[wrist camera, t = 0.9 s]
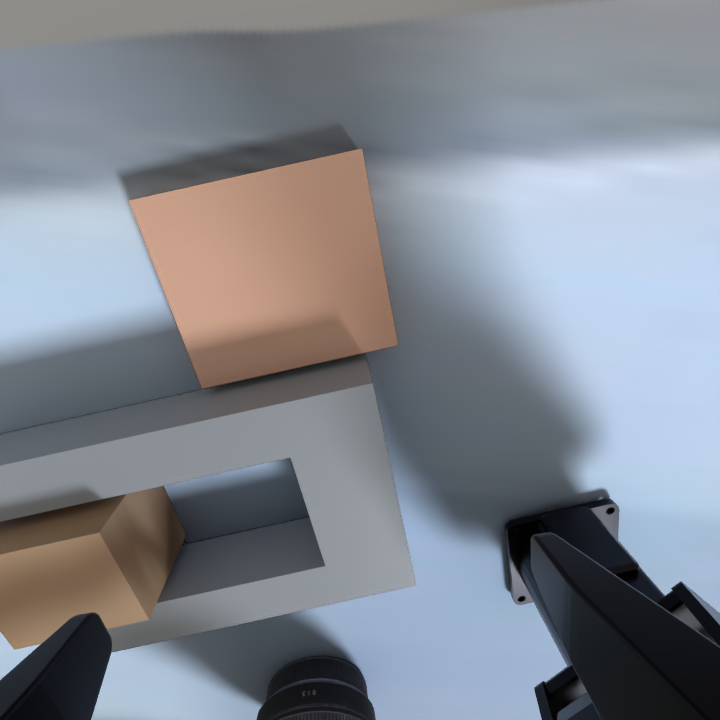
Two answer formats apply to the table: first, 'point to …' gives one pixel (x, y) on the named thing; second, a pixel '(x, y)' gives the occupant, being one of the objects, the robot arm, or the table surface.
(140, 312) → the table surface
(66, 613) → the walnut block
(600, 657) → the robot arm
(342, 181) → the terracotta tile
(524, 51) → the table surface
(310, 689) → the camera lens
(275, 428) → the pocket board
